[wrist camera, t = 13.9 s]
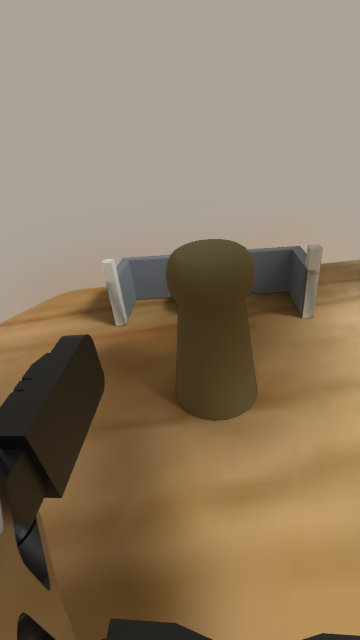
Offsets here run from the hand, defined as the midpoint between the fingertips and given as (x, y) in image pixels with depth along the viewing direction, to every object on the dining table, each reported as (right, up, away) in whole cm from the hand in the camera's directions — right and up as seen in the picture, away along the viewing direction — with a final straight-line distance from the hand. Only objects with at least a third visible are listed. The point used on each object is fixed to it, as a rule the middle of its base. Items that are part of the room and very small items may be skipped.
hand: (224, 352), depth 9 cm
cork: (+1, -4, +14) cm, 15 cm away
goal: (+2, +2, +25) cm, 25 cm away
